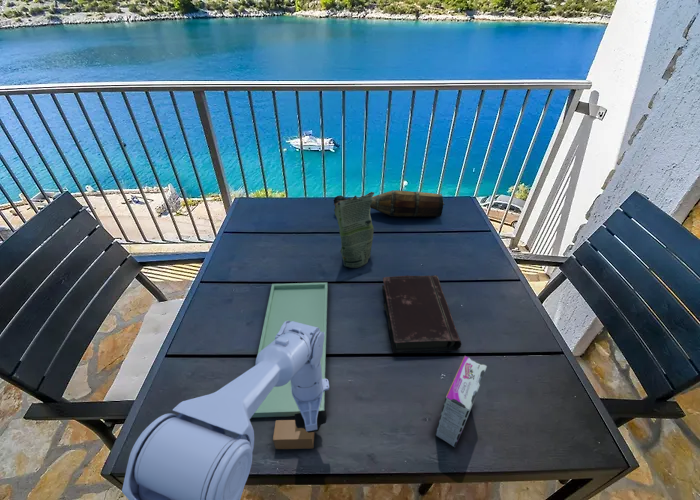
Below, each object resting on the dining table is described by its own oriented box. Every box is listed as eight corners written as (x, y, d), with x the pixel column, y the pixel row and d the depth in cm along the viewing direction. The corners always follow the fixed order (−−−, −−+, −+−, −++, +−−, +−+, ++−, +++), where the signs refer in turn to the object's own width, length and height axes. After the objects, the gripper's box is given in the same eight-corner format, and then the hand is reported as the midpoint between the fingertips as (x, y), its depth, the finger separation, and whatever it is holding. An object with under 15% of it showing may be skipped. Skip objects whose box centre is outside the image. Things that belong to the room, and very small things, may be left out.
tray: (324, 415, 80) (323, 410, 78) (247, 417, 79) (245, 413, 78) (327, 287, 112) (327, 282, 111) (272, 288, 112) (271, 283, 111)
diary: (437, 285, 112) (439, 274, 109) (459, 351, 93) (463, 339, 90) (379, 287, 112) (380, 276, 109) (390, 354, 92) (391, 342, 89)
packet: (313, 448, 74) (311, 439, 71) (275, 449, 74) (272, 439, 71) (314, 429, 77) (313, 419, 74) (278, 429, 77) (275, 420, 74)
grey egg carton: (451, 395, 83) (464, 354, 73) (471, 406, 81) (488, 365, 71) (432, 435, 76) (445, 396, 66) (455, 449, 74) (471, 410, 64)
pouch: (334, 265, 120) (331, 203, 105) (345, 245, 129) (344, 185, 114) (365, 272, 118) (367, 208, 102) (374, 251, 127) (377, 190, 111)
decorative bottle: (439, 200, 149) (334, 196, 151) (445, 186, 139) (332, 182, 141) (440, 222, 145) (332, 218, 147) (446, 210, 135) (330, 206, 137)
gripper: (333, 408, 57) (335, 444, 66) (323, 337, 68) (326, 376, 77) (290, 416, 56) (298, 451, 65) (286, 342, 67) (294, 381, 76)
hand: (311, 411), depth 71 cm, fingers open, 7 cm apart
